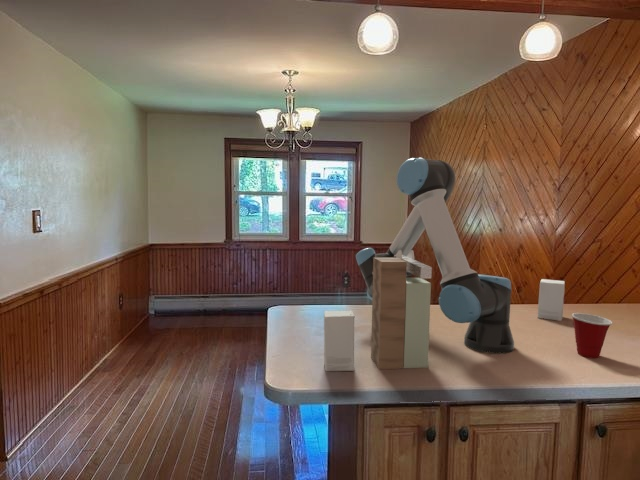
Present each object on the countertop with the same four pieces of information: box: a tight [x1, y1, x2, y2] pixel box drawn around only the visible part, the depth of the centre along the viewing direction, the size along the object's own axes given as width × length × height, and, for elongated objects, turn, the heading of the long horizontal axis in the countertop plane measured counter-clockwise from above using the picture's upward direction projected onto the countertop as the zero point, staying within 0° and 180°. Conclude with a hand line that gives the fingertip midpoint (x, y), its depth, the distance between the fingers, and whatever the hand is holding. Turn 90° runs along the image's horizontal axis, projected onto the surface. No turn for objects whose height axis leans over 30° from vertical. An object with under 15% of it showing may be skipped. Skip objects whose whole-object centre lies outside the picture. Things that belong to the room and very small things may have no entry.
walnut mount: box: [370, 258, 407, 370], centre depth 128 cm, size 9×7×30 cm
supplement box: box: [537, 278, 566, 322], centre depth 183 cm, size 9×9×15 cm
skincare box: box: [323, 310, 355, 372], centre depth 125 cm, size 8×7×16 cm
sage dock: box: [402, 277, 432, 369], centre depth 129 cm, size 9×7×24 cm
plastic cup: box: [571, 312, 613, 359], centre depth 138 cm, size 11×11×12 cm
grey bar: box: [394, 255, 433, 280], centre depth 130 cm, size 24×3×3 cm, turn 8°
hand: (406, 254), depth 134 cm, fingers closed on grey bar, 3 cm apart
